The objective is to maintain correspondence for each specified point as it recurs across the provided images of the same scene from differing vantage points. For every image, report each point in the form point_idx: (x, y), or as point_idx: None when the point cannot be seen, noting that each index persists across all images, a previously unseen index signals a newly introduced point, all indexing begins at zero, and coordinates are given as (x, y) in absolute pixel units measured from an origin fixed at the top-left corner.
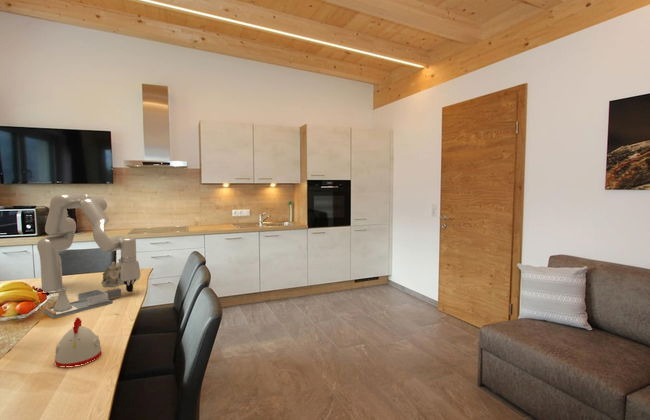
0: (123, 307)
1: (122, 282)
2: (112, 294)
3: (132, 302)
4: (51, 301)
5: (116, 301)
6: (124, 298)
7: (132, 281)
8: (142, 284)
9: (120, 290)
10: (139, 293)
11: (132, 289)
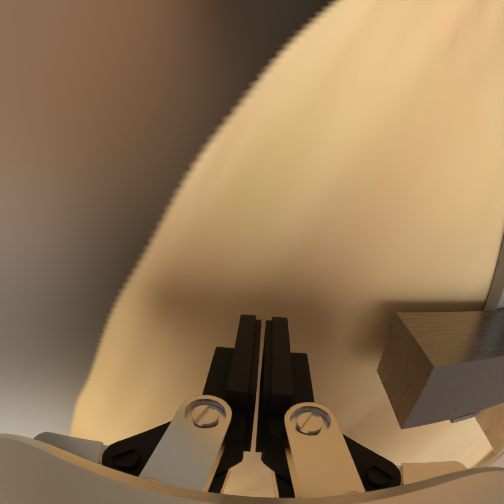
0: (493, 23)
1: (426, 477)
2: (495, 329)
3: (403, 34)
4: (490, 462)
5: (473, 227)
6: (381, 251)
7: (202, 457)
8: (75, 432)
9: (436, 353)
10: (158, 278)
11: (239, 331)
